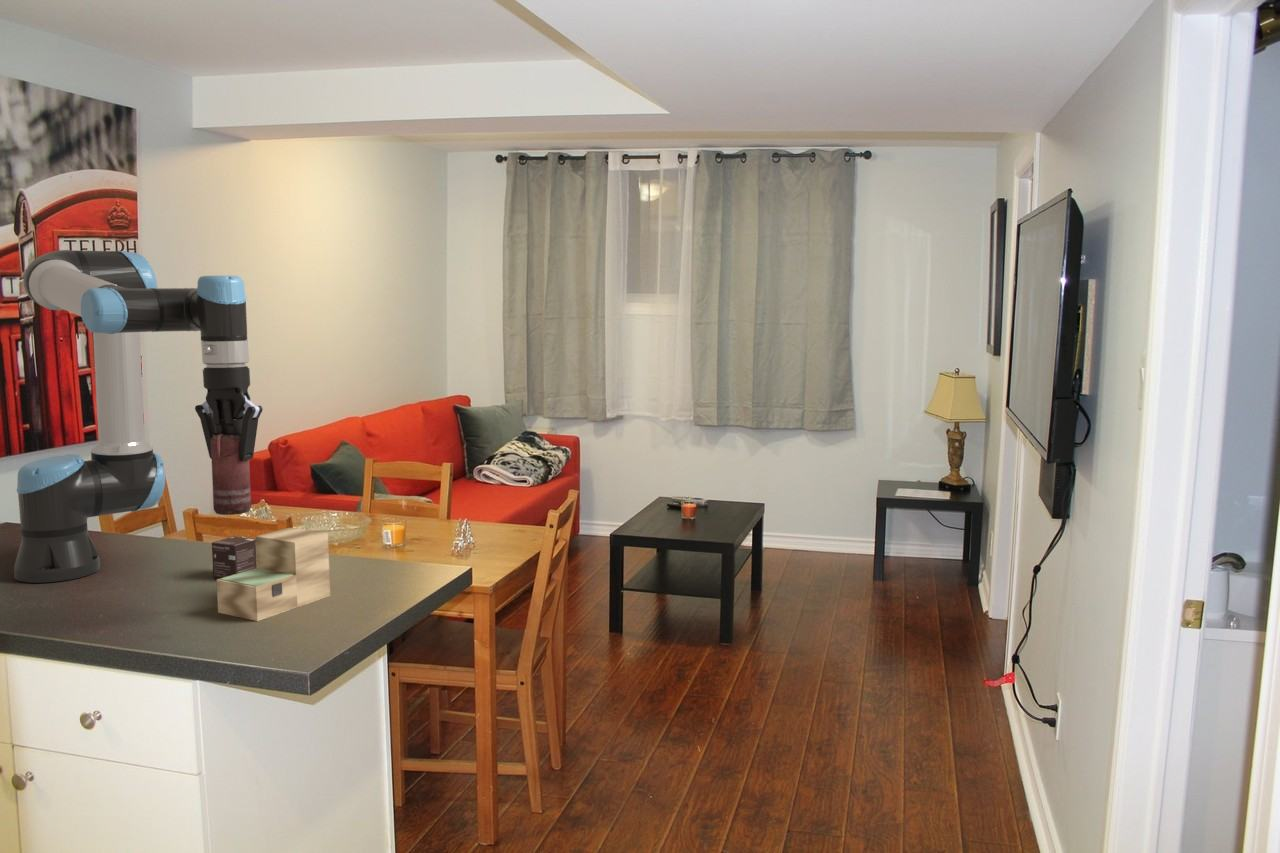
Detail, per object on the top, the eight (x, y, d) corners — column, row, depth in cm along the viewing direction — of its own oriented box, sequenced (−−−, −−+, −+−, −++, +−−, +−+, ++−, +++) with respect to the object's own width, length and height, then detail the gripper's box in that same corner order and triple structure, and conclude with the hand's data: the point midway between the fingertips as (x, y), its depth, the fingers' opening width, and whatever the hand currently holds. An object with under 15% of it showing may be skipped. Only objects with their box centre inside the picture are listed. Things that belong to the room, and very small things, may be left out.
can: (206, 515, 178) (203, 434, 176) (223, 507, 185) (220, 430, 183) (240, 515, 178) (237, 435, 176) (256, 508, 184) (254, 430, 182)
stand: (218, 612, 183) (214, 546, 182) (292, 588, 198) (289, 527, 196) (258, 621, 178) (255, 553, 177) (331, 596, 193) (328, 533, 192)
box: (212, 578, 205) (210, 542, 204) (234, 570, 211) (232, 535, 210) (236, 581, 203) (234, 545, 202) (258, 574, 209) (256, 538, 208)
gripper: (179, 366, 177) (188, 501, 180) (240, 367, 172) (248, 506, 175) (212, 363, 184) (220, 494, 187) (271, 364, 179) (278, 498, 182)
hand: (233, 499), depth 181 cm, fingers closed
